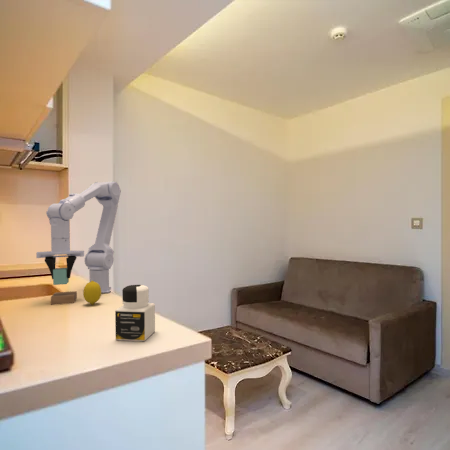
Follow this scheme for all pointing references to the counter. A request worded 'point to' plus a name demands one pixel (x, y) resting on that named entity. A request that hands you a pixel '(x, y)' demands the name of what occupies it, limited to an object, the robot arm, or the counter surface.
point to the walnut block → (63, 297)
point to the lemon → (92, 292)
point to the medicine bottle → (135, 314)
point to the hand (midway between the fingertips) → (61, 278)
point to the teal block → (60, 276)
